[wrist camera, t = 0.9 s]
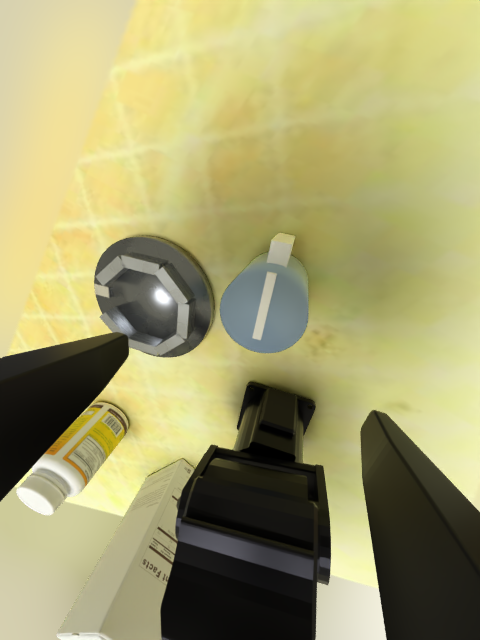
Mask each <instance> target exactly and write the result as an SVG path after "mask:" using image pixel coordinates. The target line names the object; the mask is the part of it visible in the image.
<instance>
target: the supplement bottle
mask: <svg viewBox="0 0 480 640" xmlns="http://www.w3.org/2000/svg"><path fill="white" fill-rule="evenodd" d="M127 431H128V420H127V418H126V416H125V415H124V414H123V413H122V411H120V410H119V409H118V408H117V407H115V406H113V405H111V404H108V403H104V402H99V403H95V404H93V405H92V406H90V407H89V408H88V409H87V410H86V411H85V412H84V413H83V414H82V415H81V416H80V417H79V418H78V419H77V420H76V421H75V422H74V423H72V424H71V426H70V427H69V428H68V429H67V430H66V431H65V432H64V433H63V434H62V435H61V436H60V437H59V439H58V440H57V441H56V442H55V443H54V444H53V445H52V446H51V447H50V448H49V449H48V450H47V452H46V453H45V454H44V455H43V456H42V457H41V458H40V459H39V460H38V461H37V462H36V463H35V465H34V466H33V467H32V471H33V473H32V474H31V475H30V476H29V477H27V479H26V480H25V481H24V482H23V483H22V484H21V485H20V486H19V487H18V488H17V495H18V497H19V498H20V500H21V501H22V502H23V503H24V504H26V505H27V506H28V507H29V508H31V509H32V510H34V511H36V512H38V513H40V514H43V515H52V514H53V513H54V512H55V511H56V510H57V508H58V507H59V506H60V505H61V504H62V503H63V502H64V500H65V499H66V498H67V497H72V496H75V495H77V494H79V493H80V492H81V491H82V490H83V489H84V488H85V486H86V485H87V484H88V482H89V481H90V480H91V478H92V477H93V476H94V474H95V473H96V472H97V471H98V469H99V468H100V467H101V465H102V464H103V463H104V462H105V460H106V459H107V458H108V456H109V455H110V454H111V452H112V451H113V450H114V449H115V447H116V446H117V445H118V443H119V442H120V441H121V440H122V438H123V437H124V436H125V434H126V433H127Z"/></svg>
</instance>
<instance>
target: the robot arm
mask: <svg viewBox="0 0 480 640" xmlns="http://www.w3.org/2000/svg"><path fill="white" fill-rule="evenodd" d="M128 355H129V338H128V336H127V335H126V334H123V333H120V332H114V333H109V334H105V335H100V336H96V337H91V338H87V339H82V340H78V341H73V342H69V343H64V344H60V345H55V346H51V347H46V348H42V349H37V350H33V351H28V352H24V353H19V354H15V355H10V356H6V357H3V358H0V501H1V500H2V499H3V498H4V497H5V496H6V495H7V494H8V493H9V491H10V490H11V489H12V488H13V487H14V486H15V485H16V484H17V483H18V482H19V481H20V480H21V479H22V478H23V476H24V475H25V474H26V473H27V472H28V471H29V470H30V469H31V468H32V467H33V466H34V465H35V463H36V462H37V461H38V460H39V459H40V458H41V457H42V456H43V455H44V454H45V453H46V452H47V450H48V449H49V448H50V447H51V446H52V445H53V444H54V443H55V442H56V441H57V440H58V439H59V437H60V436H61V435H62V434H63V433H64V432H65V431H66V430H67V429H68V428H69V427H70V426H71V424H72V423H73V422H74V421H75V420H76V419H77V418H78V417H79V416H80V415H81V414H82V413H83V411H84V410H85V409H86V408H87V407H88V406H89V405H90V404H91V403H92V402H93V401H94V400H95V398H96V397H97V396H98V395H99V394H100V393H101V392H102V391H103V389H104V388H105V387H106V386H107V384H108V383H109V382H110V380H111V379H112V378H113V377H114V375H115V374H116V373H117V371H118V370H119V369H120V367H121V366H122V365H123V363H124V362H125V361H126V359H127V357H128ZM250 387H253V388H250ZM308 405H312V406H308ZM315 407H316V405H315V402H314V401H313V400H310V399H307V398H304V397H300V396H297V395H294V394H290V393H287V392H284V391H280V390H277V389H274V388H270V387H267V386H264V385H260V384H257V383H254V382H249V383H248V384H247V387H246V391H245V395H244V400H243V404H242V408H241V412H240V416H239V421H238V425H237V429H238V430H239V432H238V435H237V439H236V442H235V445H234V449H233V450H230V449H225V448H220V447H218V446H216V445H211V446H210V447H209V449H208V450H207V452H206V453H205V454H204V456H203V457H202V459H201V461H200V462H199V464H198V465H197V467H196V469H195V470H194V472H193V473H192V475H191V477H190V478H189V480H188V481H187V483H186V485H185V486H184V488H183V490H182V493H181V496H180V497H179V499H178V501H177V505H176V507H177V510H178V512H177V517H176V525H175V534H176V539H177V541H178V542H177V547H176V551H175V556H174V560H173V564H172V568H171V572H170V575H169V579H168V582H167V586H166V589H165V593H164V596H163V600H162V603H161V608H160V617H161V638H162V640H315V637H316V598H317V593H316V592H317V582H319V583H322V584H326V585H328V583H329V578H330V564H331V534H330V517H329V508H328V500H327V492H326V484H325V476H324V468H323V466H321V465H315V466H314V465H309V464H304V463H303V436H304V434H305V431H306V429H307V427H308V425H309V422H310V420H311V418H312V415H313V413H314V411H315ZM361 457H362V478H363V486H364V493H365V500H366V506H367V513H368V519H369V526H370V533H371V539H372V546H373V552H374V559H375V565H376V572H377V579H378V585H379V592H380V598H381V605H382V611H383V618H384V624H385V631H386V638H387V640H480V512H479V511H478V510H477V509H476V508H475V507H474V506H473V504H472V503H471V502H470V501H469V500H468V499H467V498H466V497H465V496H464V495H463V494H462V493H461V492H460V491H459V490H458V489H457V488H456V487H455V486H454V484H453V483H452V482H451V481H450V480H449V479H448V478H447V477H446V476H445V475H444V474H443V473H442V472H441V471H440V470H439V469H438V468H437V467H436V466H435V464H434V463H433V462H432V461H431V460H430V459H429V458H428V457H427V456H426V455H425V454H424V453H423V452H422V451H421V450H420V449H419V448H418V447H417V445H416V444H415V443H414V442H413V441H412V440H411V439H410V438H409V437H408V436H407V435H406V434H405V433H404V432H403V431H402V430H401V429H400V428H399V427H398V425H397V424H396V423H395V422H394V421H393V420H392V419H391V418H390V417H389V416H388V415H387V414H385V413H383V412H380V411H376V410H372V411H371V412H370V413H369V415H368V417H367V419H366V420H365V422H364V424H363V425H362V428H361Z"/></svg>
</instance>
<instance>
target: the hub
mask: <svg viewBox="0 0 480 640" xmlns="http://www.w3.org/2000/svg"><path fill="white" fill-rule="evenodd" d="M94 286H95V294H96V298H97V301H98V304H99V307H100V309H101V312H102V314H103V315H101V316H100V318H101V319H102V320H103V322H104V323H105V324H106V325H107V326H108V327H109V329H110V330H111V331H112V332H113V333H114V332H120V333H123V334H126V335H127V336H128V338H129V347H130V348H133V349H136V350H140V351H142V352H144V353H147V354H149V355H153V356H157V357H177V356H181V355H184V354H186V353H188V352H190V351H191V350H193V349H194V348H195V347H197V346H198V345H199V344H200V342H201V341H202V340H203V338H204V337H205V336H206V335H207V333H208V331H209V329H210V327H211V324H212V321H213V317H214V298H213V293H212V290H211V287H210V284H209V281H208V279H207V277H206V275H205V274H204V272H203V270H202V269H201V267H200V266H199V265H198V263H197V262H196V261H195V260H194V259H193V258H192V257H191V256H190V255H189V254H188V253H187V252H186V251H184V250H183V249H182V248H180V247H179V246H177V245H176V244H174V243H172V242H170V241H168V240H165V239H162V238H159V237H154V236H136V237H131V238H126V239H123V240H120V241H118V242H116V243H114V244H112V245H111V246H110V247H109V248H108V249H107V250H106V251H105V252H104V253H103V254H102V256H101V258H100V259H99V262H98V264H97V267H96V271H95V279H94Z"/></svg>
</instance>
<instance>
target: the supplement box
mask: <svg viewBox="0 0 480 640" xmlns="http://www.w3.org/2000/svg"><path fill="white" fill-rule="evenodd" d="M194 470H195V469H194V468H193V467H192V466H190V465H189V464H188V463H187V462H186V461H185V460H184V459H180V460H179V461H177V462H175V463H173V464H171V465H169V466H167V467H165V468H163V469H162V470H160V471H158V472H156V473H154V474H152V475H150V476H148V477H147V478H146V479H145V481H144V483H143V484H142V486H141V488H140V490H139V491H138V493H137V495H136V496H135V498H134V500H133V502H132V503H131V505H130V507H129V509H128V510H127V512H126V514H125V516H124V517H123V519H122V521H121V523H120V524H119V526H118V528H117V530H116V531H115V533H114V535H113V537H112V538H111V540H110V542H109V544H108V545H107V547H106V549H105V551H104V552H103V554H102V556H101V557H100V559H99V561H98V563H97V565H96V566H95V568H94V570H93V572H92V573H91V575H90V577H89V578H88V580H87V582H86V584H85V585H84V587H83V589H82V591H81V592H80V594H79V596H78V597H77V599H76V601H75V603H74V605H73V606H72V608H71V610H70V612H69V613H68V615H67V617H66V618H65V620H64V622H63V624H62V626H61V627H60V629H59V631H58V632H57V638H59V639H61V640H162V638H161V617H160V608H161V603H162V600H163V596H164V593H165V589H166V586H167V582H168V579H169V575H170V572H171V568H172V564H173V560H174V556H175V551H176V547H177V542H178V541H177V539H176V534H175V525H176V517H177V512H178V510H177V507H176V505H177V501H178V499H179V497H180V496H181V493H182V490H183V488H184V486H185V485H186V483H187V481H188V480H189V478H190V477H191V475H192V473H193V472H194Z"/></svg>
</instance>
